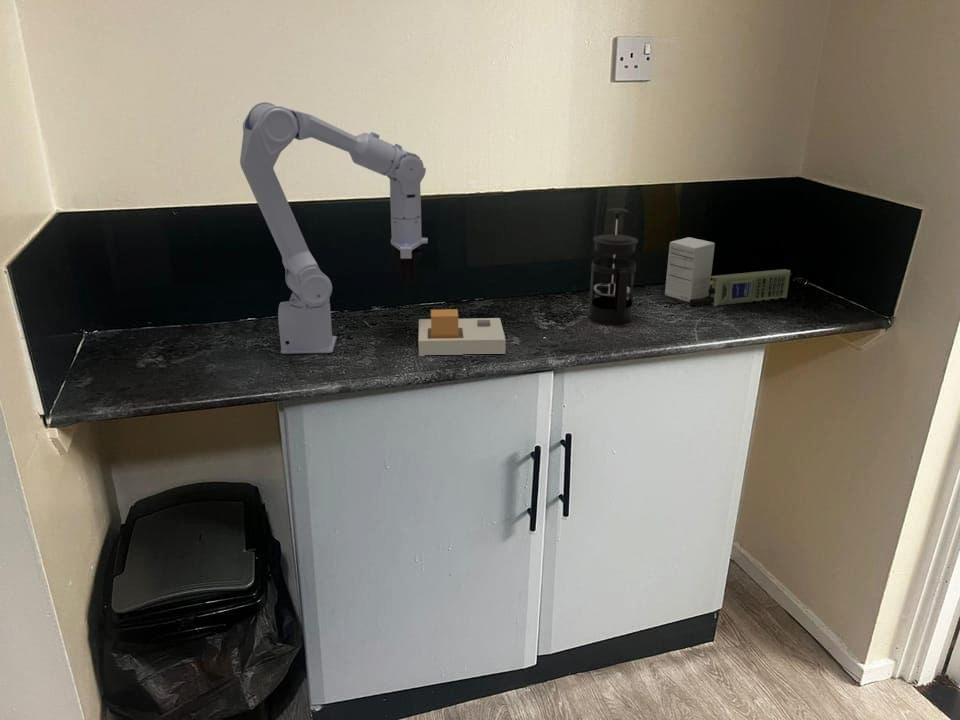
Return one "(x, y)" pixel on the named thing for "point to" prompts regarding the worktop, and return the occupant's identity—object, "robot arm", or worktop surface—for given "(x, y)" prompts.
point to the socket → (464, 338)
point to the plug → (444, 323)
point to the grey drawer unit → (689, 268)
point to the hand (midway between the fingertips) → (408, 285)
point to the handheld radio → (746, 287)
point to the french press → (612, 295)
